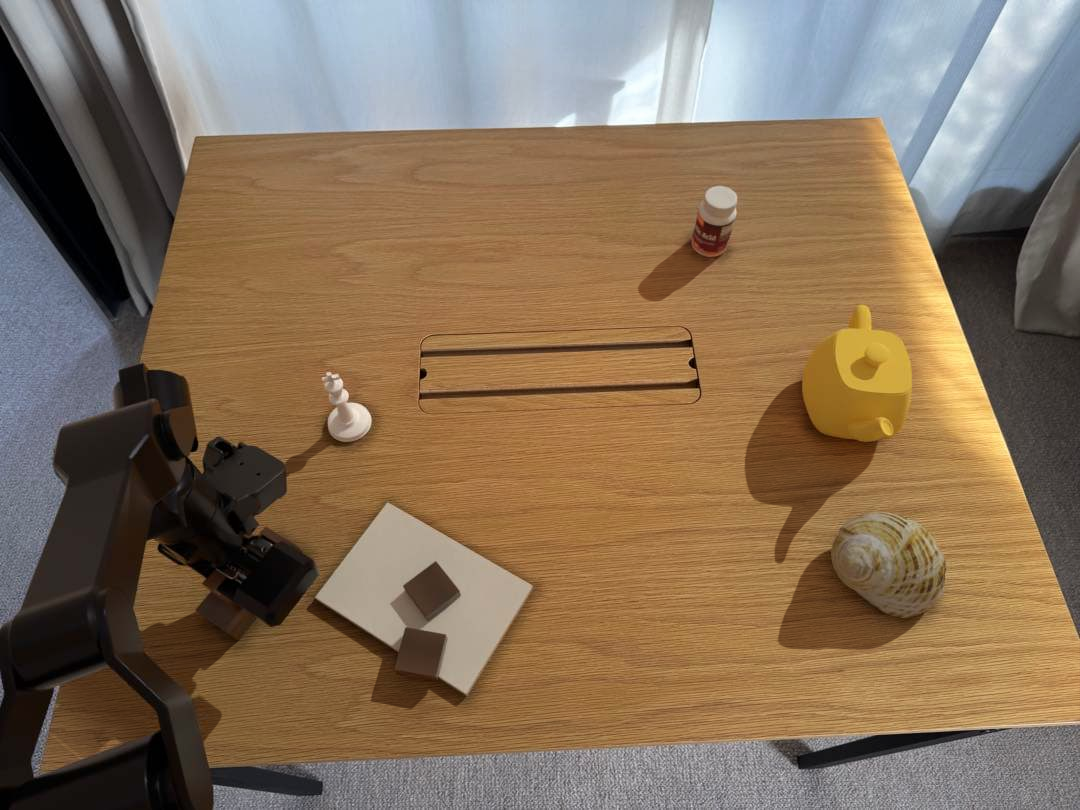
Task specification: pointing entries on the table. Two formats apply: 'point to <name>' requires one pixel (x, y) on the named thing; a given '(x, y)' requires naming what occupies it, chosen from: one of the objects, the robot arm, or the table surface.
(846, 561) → the seashell
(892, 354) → the teapot
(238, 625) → the brown stepped block
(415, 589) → the chip
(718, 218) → the pill bottle
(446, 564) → the tile
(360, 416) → the chess piece
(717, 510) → the table surface
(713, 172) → the table surface
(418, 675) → the chip
